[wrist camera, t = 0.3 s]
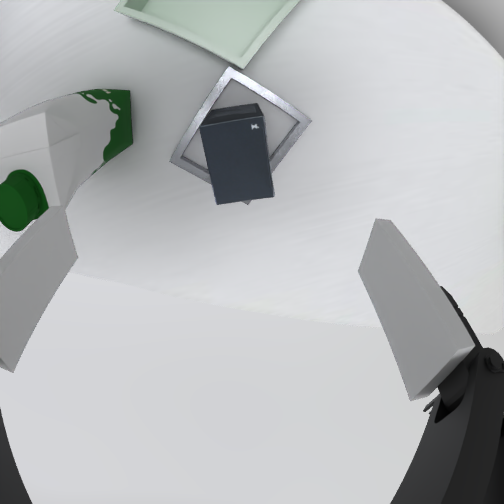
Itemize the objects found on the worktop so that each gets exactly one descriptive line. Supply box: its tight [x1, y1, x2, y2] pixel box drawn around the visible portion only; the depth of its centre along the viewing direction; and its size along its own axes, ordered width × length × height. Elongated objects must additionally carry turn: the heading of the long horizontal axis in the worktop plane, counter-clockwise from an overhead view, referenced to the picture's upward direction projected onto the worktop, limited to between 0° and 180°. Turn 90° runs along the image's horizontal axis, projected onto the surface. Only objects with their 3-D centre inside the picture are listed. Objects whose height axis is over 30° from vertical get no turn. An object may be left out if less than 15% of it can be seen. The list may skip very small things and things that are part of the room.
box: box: [199, 103, 275, 205], centre depth 28 cm, size 8×6×11 cm
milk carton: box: [0, 89, 133, 232], centre depth 21 cm, size 9×9×20 cm
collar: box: [169, 67, 312, 205], centre depth 31 cm, size 12×14×1 cm
